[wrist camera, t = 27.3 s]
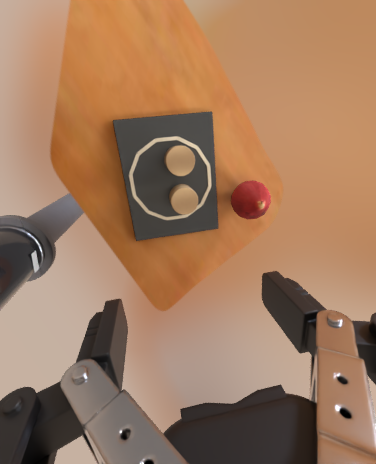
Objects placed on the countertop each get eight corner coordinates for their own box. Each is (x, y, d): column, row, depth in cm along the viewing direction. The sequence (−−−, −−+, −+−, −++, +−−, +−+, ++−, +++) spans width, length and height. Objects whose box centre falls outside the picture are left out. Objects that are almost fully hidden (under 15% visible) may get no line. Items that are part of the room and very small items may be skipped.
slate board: (136, 239, 38) (136, 241, 38) (113, 120, 32) (112, 120, 31) (217, 227, 40) (218, 228, 39) (210, 112, 34) (212, 111, 33)
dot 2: (167, 185, 35) (169, 189, 32) (192, 182, 36) (197, 185, 33) (170, 210, 37) (173, 216, 34) (195, 207, 37) (199, 212, 34)
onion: (261, 202, 40) (287, 214, 32) (232, 217, 40) (251, 234, 33) (250, 171, 38) (275, 177, 30) (219, 188, 38) (237, 198, 30)
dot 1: (162, 147, 33) (163, 147, 30) (189, 144, 34) (193, 143, 31) (166, 175, 35) (168, 178, 32) (192, 171, 35) (196, 174, 32)
